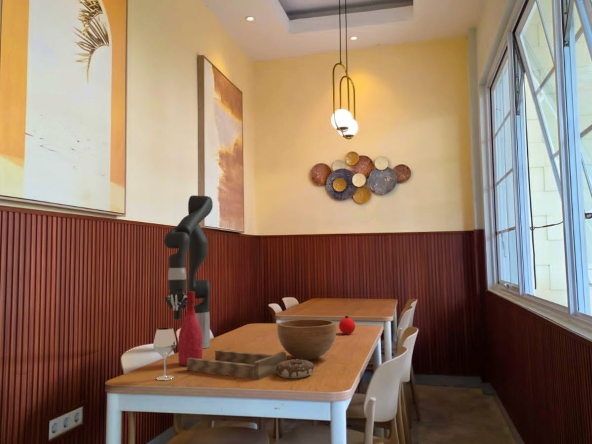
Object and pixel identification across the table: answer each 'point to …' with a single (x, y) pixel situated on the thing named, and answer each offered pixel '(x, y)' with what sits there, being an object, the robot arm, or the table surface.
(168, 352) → the wineglass
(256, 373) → the tray
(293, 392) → the table surface
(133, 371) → the table surface
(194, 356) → the wine bottle
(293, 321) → the bowl
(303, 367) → the donut
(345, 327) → the ornament
